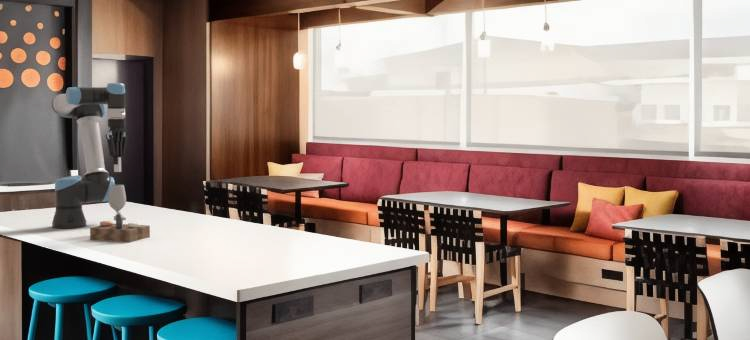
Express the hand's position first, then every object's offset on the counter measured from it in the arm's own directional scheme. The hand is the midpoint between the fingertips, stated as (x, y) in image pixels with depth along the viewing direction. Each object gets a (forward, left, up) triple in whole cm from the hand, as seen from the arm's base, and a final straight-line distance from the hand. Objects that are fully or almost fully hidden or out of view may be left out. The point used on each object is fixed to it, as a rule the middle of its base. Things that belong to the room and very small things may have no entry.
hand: (117, 171), depth 379 cm
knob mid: (+9, -12, -24) cm, 29 cm away
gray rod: (+13, -18, -22) cm, 31 cm away
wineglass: (-3, +3, -28) cm, 28 cm away
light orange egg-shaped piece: (+2, -12, -27) cm, 30 cm away
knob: (+16, -12, -27) cm, 34 cm away
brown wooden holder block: (+9, -12, -27) cm, 31 cm away
